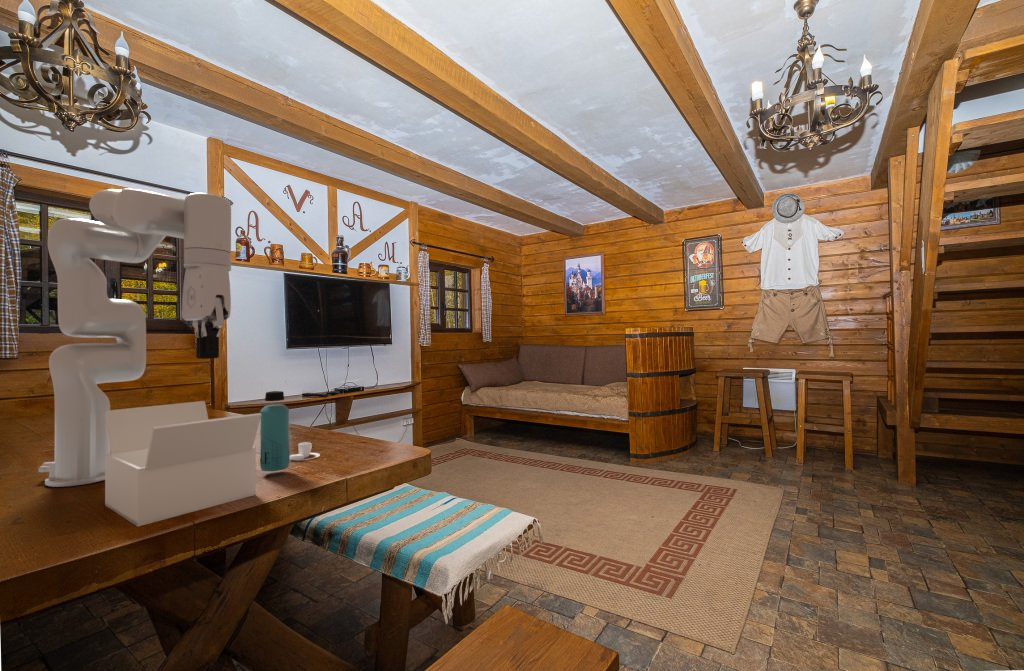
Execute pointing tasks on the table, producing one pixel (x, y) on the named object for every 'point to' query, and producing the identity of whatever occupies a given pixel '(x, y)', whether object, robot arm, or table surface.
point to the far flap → (147, 423)
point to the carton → (175, 484)
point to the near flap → (201, 440)
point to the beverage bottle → (274, 434)
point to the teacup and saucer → (304, 452)
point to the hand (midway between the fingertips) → (207, 358)
